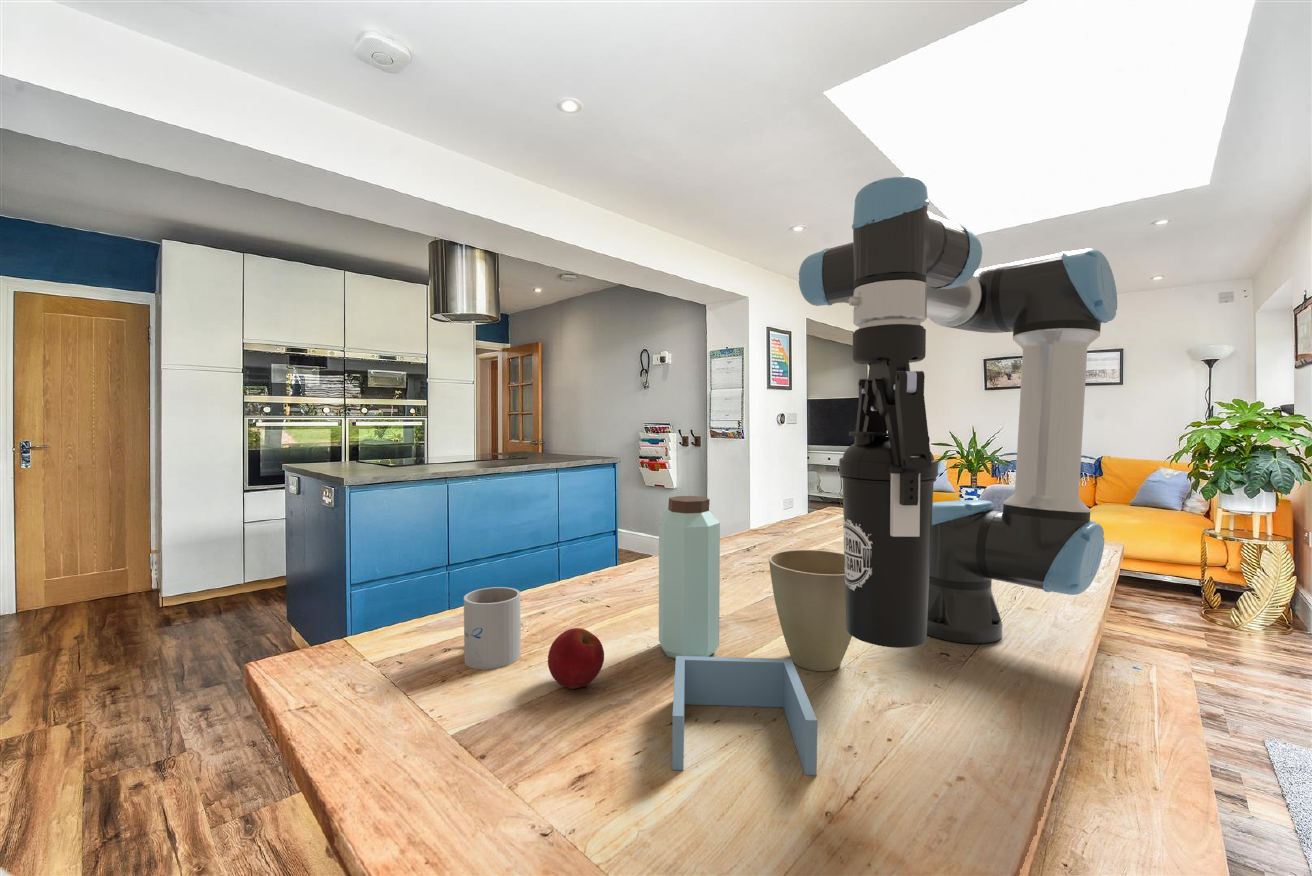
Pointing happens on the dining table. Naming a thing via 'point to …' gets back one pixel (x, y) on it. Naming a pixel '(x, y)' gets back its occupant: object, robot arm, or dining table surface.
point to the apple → (575, 658)
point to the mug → (492, 627)
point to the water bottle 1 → (689, 578)
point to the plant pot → (811, 606)
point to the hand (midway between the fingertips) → (886, 525)
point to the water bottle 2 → (883, 549)
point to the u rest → (744, 697)
